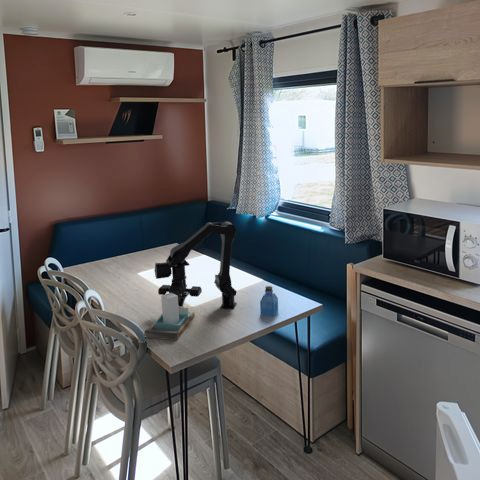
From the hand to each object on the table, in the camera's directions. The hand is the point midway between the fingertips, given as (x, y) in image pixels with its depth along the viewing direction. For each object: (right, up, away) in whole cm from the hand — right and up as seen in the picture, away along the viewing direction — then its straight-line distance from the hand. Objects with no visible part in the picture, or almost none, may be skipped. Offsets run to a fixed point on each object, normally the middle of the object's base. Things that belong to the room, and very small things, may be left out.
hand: (181, 308), depth 229 cm
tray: (-2, -5, -9) cm, 11 cm away
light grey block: (-3, -5, -12) cm, 13 cm away
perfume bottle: (+40, -2, -1) cm, 40 cm away
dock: (-3, -6, -13) cm, 14 cm away
